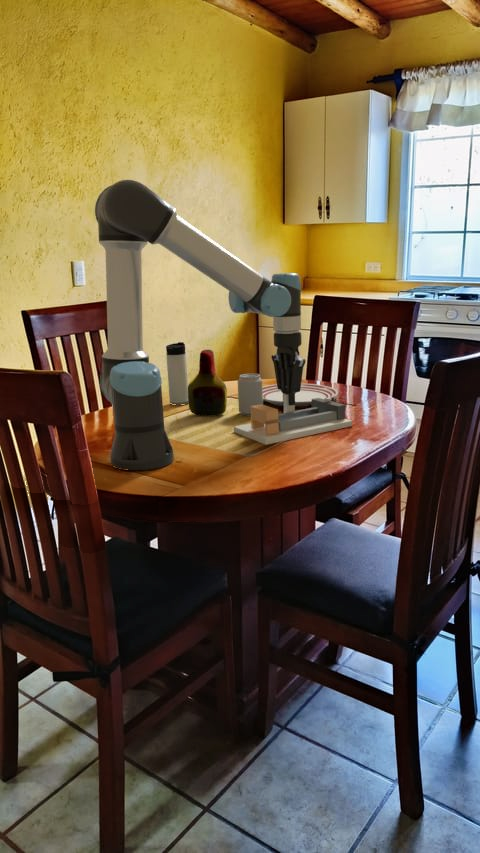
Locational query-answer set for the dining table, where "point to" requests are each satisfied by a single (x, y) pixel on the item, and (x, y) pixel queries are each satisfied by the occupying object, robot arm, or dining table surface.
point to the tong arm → (298, 413)
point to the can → (249, 392)
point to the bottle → (207, 389)
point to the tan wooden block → (264, 418)
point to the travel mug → (177, 373)
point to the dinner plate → (299, 394)
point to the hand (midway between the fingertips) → (289, 415)
